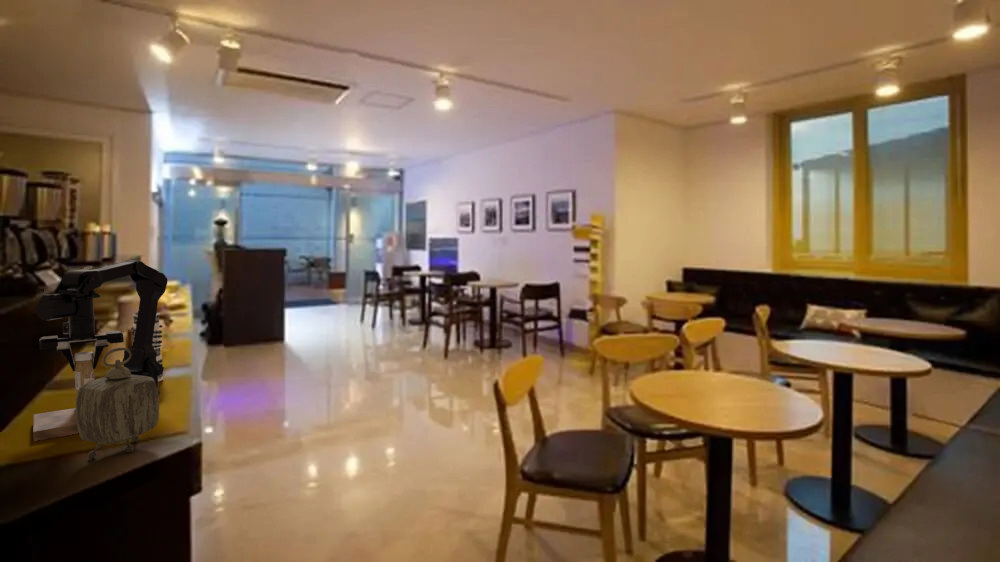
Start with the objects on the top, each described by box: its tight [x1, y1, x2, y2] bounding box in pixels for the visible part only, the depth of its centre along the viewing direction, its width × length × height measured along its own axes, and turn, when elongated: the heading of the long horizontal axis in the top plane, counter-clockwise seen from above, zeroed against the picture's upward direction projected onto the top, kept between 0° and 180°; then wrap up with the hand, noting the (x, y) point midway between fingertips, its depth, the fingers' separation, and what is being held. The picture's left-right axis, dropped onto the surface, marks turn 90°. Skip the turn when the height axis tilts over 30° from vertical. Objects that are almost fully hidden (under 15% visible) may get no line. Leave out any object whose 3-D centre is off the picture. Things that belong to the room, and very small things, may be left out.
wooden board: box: [32, 407, 79, 442], centre depth 148 cm, size 20×17×2 cm
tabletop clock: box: [75, 347, 160, 459], centre depth 129 cm, size 14×9×25 cm, turn 163°
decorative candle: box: [130, 310, 164, 382], centre depth 191 cm, size 9×9×25 cm
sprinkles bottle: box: [72, 351, 95, 400], centre depth 155 cm, size 5×5×14 cm
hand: (84, 369), depth 155 cm, fingers closed on sprinkles bottle, 4 cm apart
